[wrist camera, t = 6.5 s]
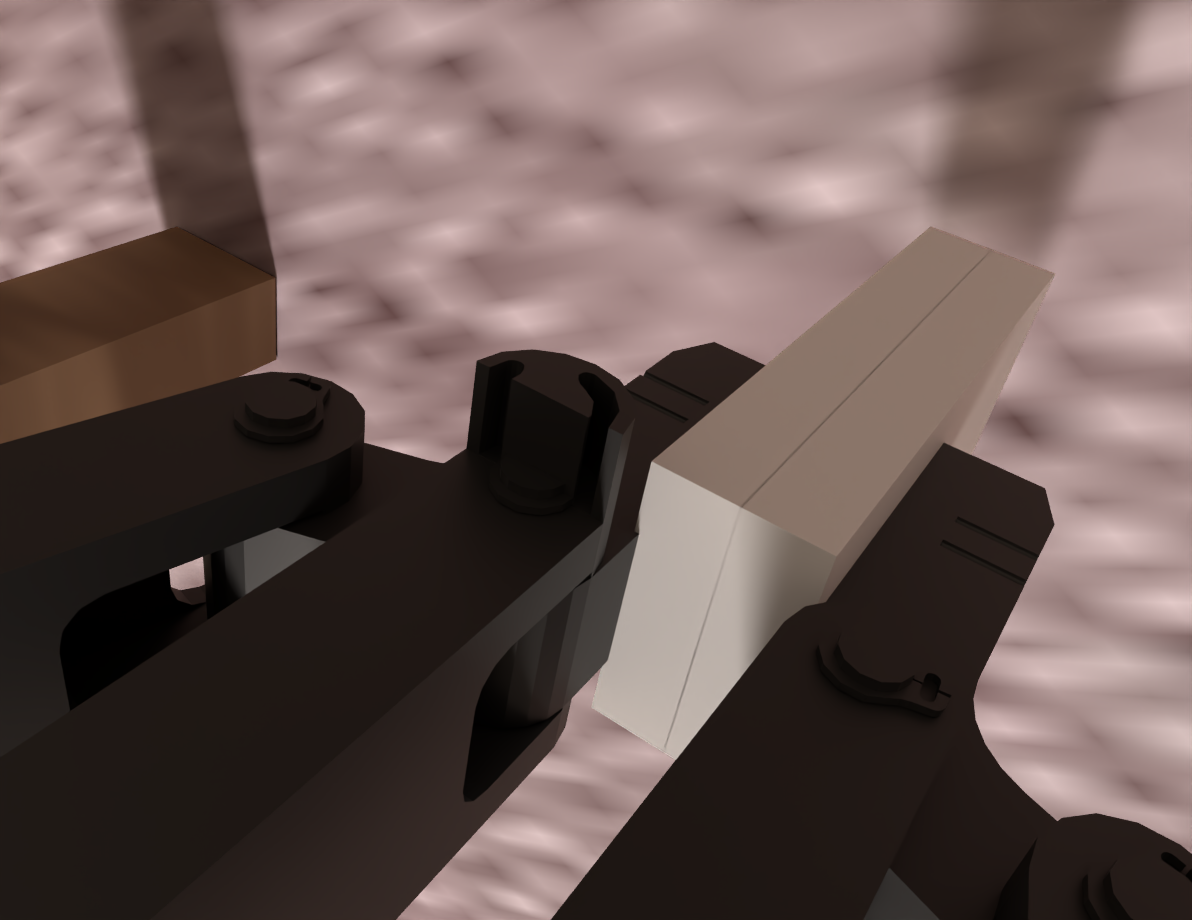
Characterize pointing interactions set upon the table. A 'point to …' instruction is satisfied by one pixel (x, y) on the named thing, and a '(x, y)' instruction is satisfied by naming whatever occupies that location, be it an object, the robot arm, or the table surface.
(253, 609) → the robot arm
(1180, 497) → the table surface
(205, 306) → the bridge
